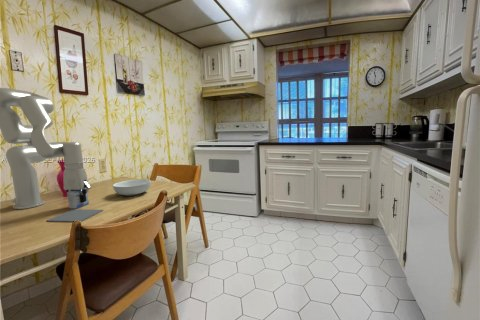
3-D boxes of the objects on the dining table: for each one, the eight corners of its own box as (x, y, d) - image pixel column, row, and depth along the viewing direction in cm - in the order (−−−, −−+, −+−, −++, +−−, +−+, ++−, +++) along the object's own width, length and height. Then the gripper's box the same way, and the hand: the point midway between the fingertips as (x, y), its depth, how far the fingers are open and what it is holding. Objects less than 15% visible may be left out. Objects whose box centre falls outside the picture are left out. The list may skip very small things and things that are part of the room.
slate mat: (46, 221, 101) (46, 220, 101) (73, 210, 115) (73, 209, 115) (80, 222, 99) (80, 221, 99) (103, 210, 113) (103, 209, 113)
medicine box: (76, 209, 117) (74, 192, 115) (68, 208, 118) (66, 191, 116) (89, 204, 124) (87, 187, 123) (82, 203, 125) (80, 187, 124)
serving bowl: (155, 188, 154) (154, 178, 153) (144, 197, 133) (143, 185, 132) (122, 190, 152) (121, 179, 151) (106, 199, 132) (105, 187, 131)
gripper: (52, 168, 116) (57, 204, 118) (83, 167, 113) (88, 204, 116) (65, 165, 123) (69, 199, 125) (95, 165, 121) (99, 199, 123)
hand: (78, 201), depth 121 cm, fingers closed on medicine box, 4 cm apart
